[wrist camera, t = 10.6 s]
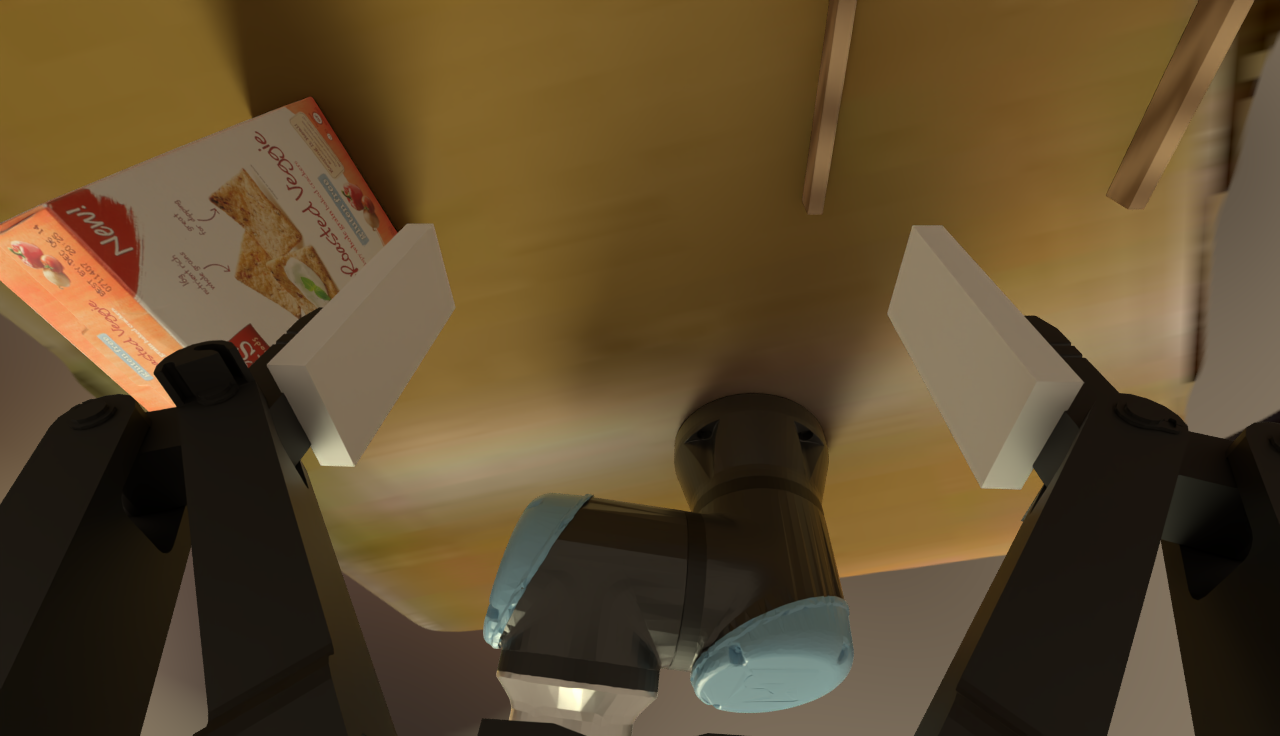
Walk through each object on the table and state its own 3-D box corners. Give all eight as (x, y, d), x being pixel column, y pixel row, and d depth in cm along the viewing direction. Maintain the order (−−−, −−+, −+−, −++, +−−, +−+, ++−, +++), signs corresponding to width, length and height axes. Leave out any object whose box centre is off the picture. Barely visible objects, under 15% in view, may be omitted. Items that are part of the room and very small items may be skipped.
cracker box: (425, 264, 46) (281, 445, 30) (366, 282, 48) (197, 465, 31) (316, 89, 38) (37, 204, 22) (249, 118, 40) (-59, 246, 23)
